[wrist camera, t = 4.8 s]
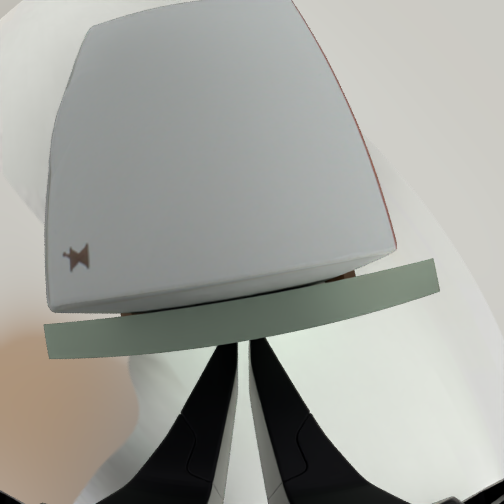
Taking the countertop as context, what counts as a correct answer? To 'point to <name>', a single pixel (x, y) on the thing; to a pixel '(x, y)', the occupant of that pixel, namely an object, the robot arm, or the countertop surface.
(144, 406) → the countertop surface
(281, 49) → the small box
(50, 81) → the countertop surface
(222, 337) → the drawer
